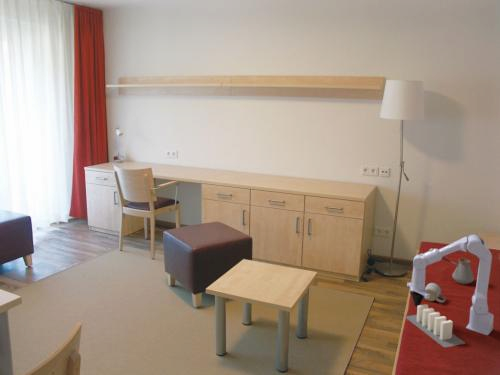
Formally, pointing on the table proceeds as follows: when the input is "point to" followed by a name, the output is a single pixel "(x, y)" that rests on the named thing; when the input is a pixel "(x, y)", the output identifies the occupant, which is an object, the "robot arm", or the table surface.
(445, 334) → the domino
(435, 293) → the ceramic mug
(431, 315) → the domino
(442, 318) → the domino
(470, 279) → the coffee pot
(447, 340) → the mat
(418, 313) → the domino
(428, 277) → the table surface
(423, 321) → the domino
